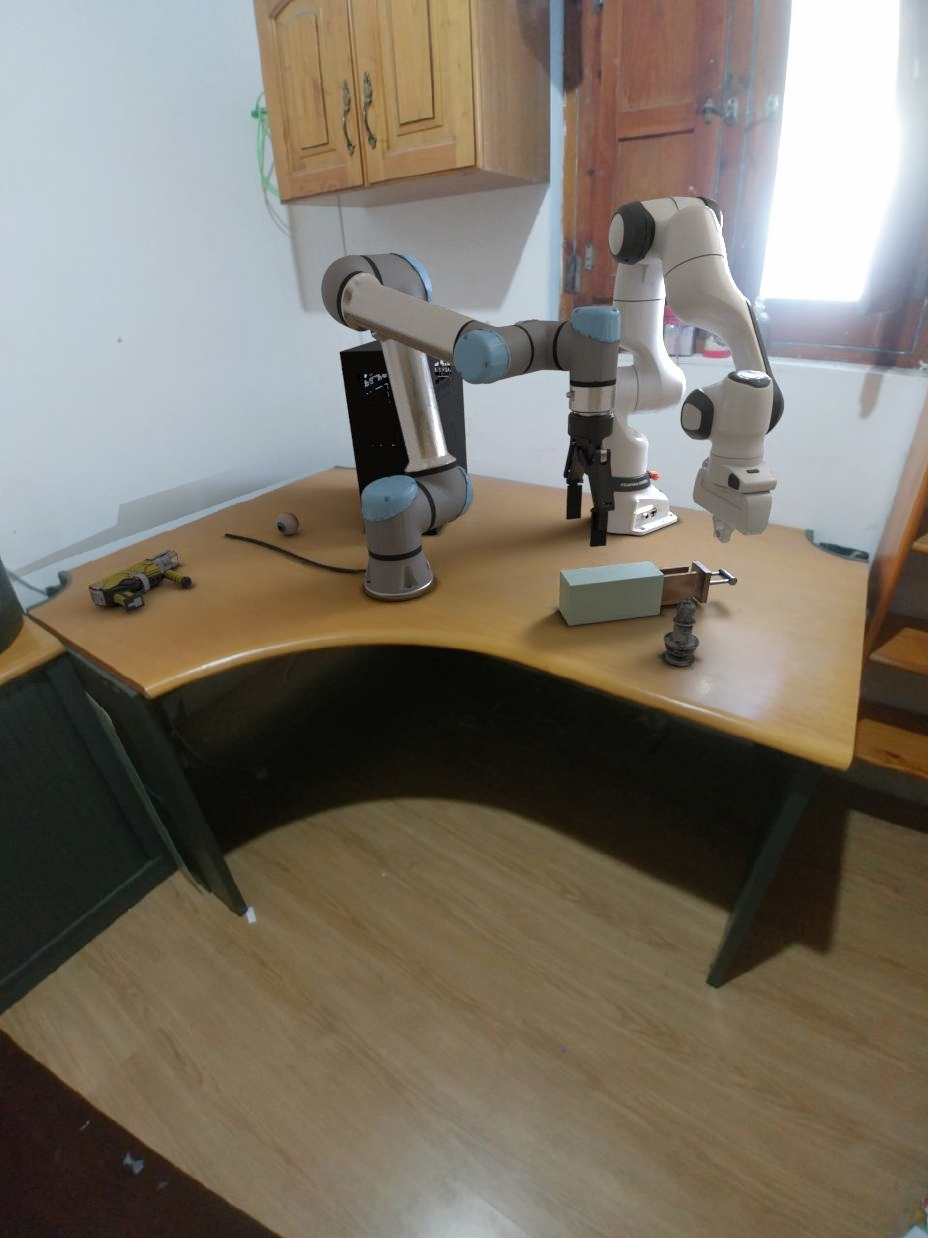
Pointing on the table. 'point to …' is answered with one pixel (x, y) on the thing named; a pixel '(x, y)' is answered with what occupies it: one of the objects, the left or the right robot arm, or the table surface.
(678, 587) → the drawer
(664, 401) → the right robot arm
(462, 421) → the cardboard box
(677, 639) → the salt shaker
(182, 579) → the toy gun
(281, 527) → the eyeball
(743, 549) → the table surface
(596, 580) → the cabinet
